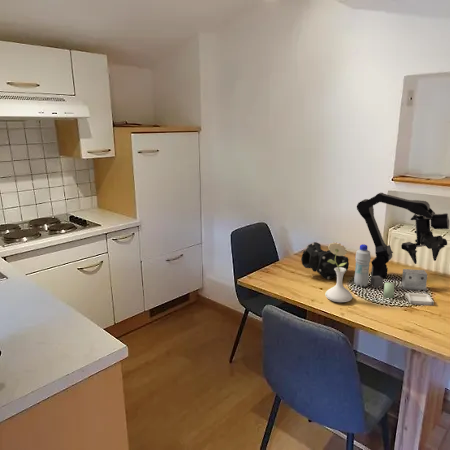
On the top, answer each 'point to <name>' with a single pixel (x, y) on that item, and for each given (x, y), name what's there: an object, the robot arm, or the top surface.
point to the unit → (414, 279)
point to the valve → (322, 261)
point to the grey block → (376, 281)
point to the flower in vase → (338, 276)
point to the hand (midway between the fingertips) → (425, 262)
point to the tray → (419, 299)
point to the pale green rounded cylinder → (388, 290)
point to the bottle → (362, 266)
